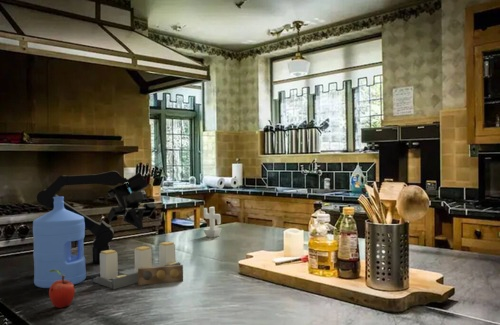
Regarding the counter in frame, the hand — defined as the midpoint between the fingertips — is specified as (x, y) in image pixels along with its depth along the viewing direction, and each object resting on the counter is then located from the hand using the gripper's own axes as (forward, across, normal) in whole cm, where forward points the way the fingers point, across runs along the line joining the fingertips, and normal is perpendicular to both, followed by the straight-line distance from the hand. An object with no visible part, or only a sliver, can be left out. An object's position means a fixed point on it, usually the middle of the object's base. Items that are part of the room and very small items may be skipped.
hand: (141, 228), depth 161 cm
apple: (+26, -41, -6) cm, 49 cm away
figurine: (-5, +57, +25) cm, 62 cm away
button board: (+19, -11, 0) cm, 22 cm away
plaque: (+28, -10, -8) cm, 31 cm away
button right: (+20, -1, -3) cm, 20 cm away
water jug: (+8, -30, +11) cm, 33 cm away
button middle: (+20, -11, -3) cm, 23 cm away
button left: (+17, -21, 0) cm, 27 cm away
